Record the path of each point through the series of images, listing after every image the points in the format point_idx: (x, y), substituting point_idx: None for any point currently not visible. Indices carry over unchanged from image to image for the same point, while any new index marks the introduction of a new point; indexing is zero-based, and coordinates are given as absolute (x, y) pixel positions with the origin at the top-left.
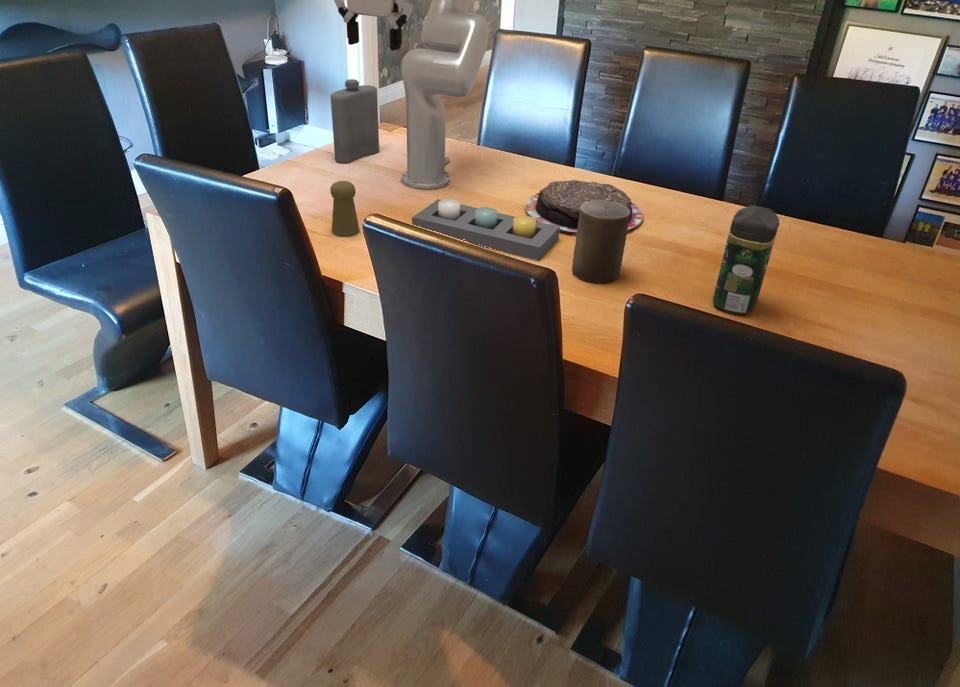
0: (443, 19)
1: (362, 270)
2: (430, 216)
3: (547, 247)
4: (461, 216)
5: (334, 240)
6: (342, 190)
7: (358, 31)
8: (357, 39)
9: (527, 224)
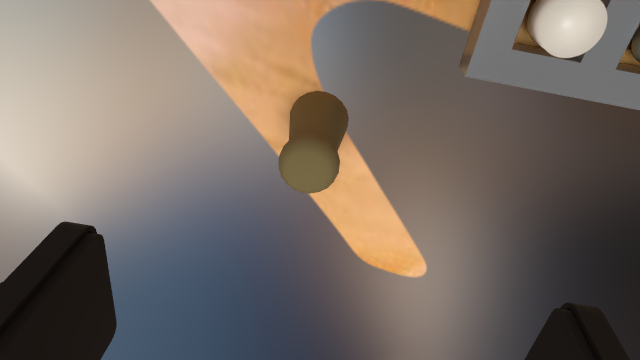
0: None
1: (409, 242)
2: (511, 57)
3: None
4: None
5: None
6: (319, 191)
7: (35, 311)
8: (91, 275)
9: None
